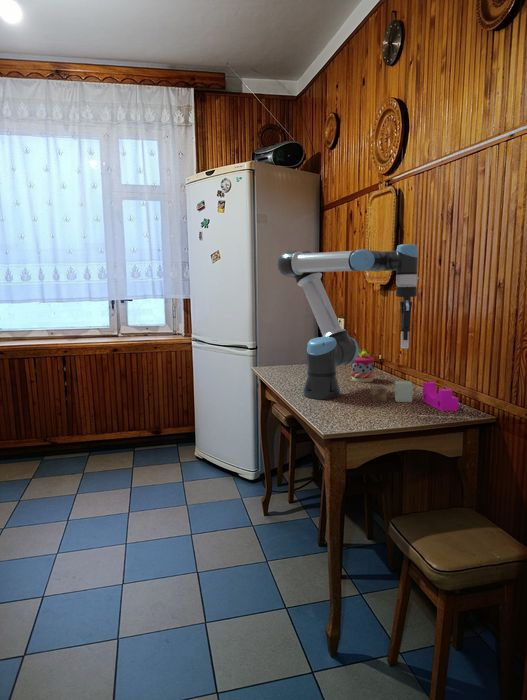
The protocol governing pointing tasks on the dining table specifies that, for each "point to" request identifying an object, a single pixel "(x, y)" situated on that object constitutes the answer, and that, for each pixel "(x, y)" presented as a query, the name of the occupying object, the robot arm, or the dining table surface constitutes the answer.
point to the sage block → (403, 391)
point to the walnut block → (378, 393)
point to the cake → (362, 367)
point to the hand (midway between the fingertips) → (404, 348)
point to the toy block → (439, 397)
